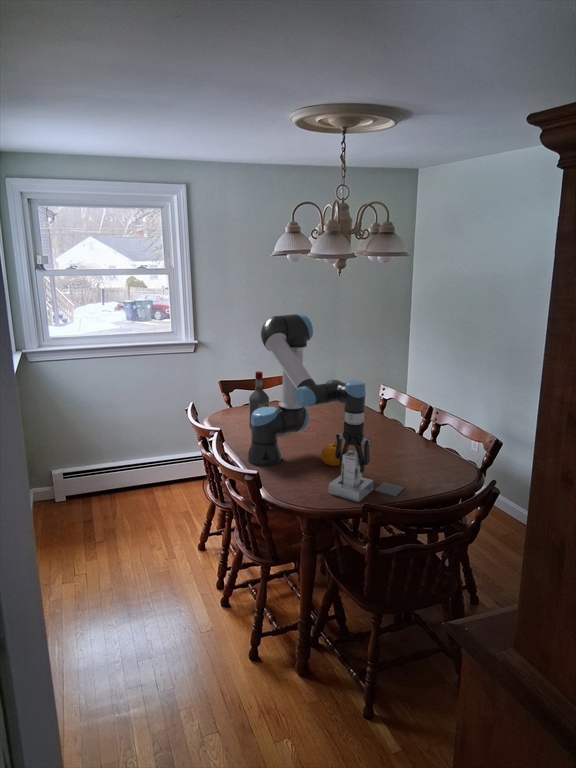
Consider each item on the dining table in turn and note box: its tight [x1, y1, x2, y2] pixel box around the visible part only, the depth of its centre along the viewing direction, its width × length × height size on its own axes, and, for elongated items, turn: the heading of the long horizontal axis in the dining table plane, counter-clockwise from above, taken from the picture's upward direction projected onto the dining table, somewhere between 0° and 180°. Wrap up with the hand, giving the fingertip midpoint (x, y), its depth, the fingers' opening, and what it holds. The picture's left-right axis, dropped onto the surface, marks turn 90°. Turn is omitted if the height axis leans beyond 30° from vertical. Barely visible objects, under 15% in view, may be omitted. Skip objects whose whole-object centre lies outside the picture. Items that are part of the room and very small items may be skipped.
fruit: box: [320, 441, 344, 467], centre depth 233 cm, size 12×12×10 cm
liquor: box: [248, 370, 270, 429], centre depth 277 cm, size 9×9×30 cm
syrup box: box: [341, 450, 361, 488], centre depth 205 cm, size 6×6×14 cm
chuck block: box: [328, 474, 375, 503], centre depth 207 cm, size 13×13×4 cm
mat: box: [373, 481, 405, 498], centre depth 209 cm, size 9×9×1 cm
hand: (351, 477), depth 206 cm, fingers closed on syrup box, 6 cm apart
